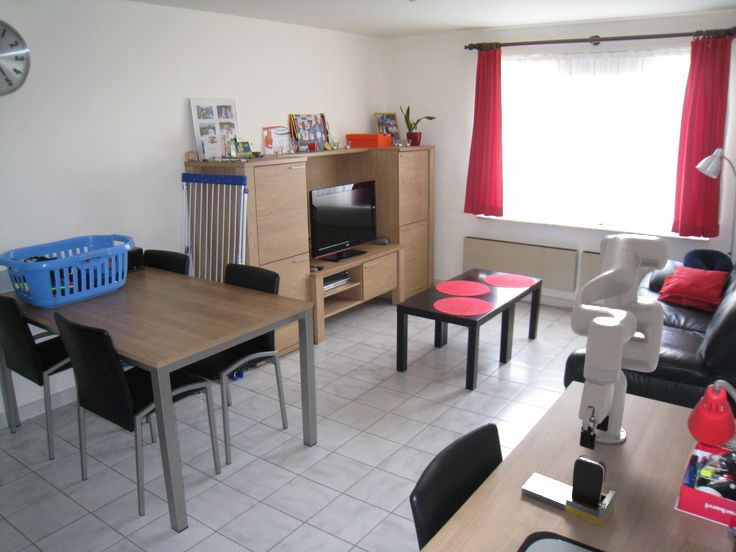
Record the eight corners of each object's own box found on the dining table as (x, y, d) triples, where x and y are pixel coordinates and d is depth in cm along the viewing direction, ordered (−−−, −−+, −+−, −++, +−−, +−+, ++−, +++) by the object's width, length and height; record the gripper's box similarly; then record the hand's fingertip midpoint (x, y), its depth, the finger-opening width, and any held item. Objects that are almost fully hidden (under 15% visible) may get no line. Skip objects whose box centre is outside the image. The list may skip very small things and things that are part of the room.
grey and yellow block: (534, 479, 157) (535, 462, 156) (613, 509, 145) (615, 491, 144) (521, 494, 151) (523, 476, 149) (602, 527, 139) (605, 508, 138)
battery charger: (603, 502, 145) (609, 460, 142) (598, 510, 142) (604, 467, 139) (574, 491, 149) (579, 450, 146) (569, 498, 146) (574, 457, 143)
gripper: (596, 355, 144) (589, 418, 149) (571, 380, 131) (564, 449, 136) (629, 362, 140) (621, 428, 145) (606, 390, 127) (598, 460, 132)
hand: (593, 438), depth 141 cm, fingers open, 9 cm apart
